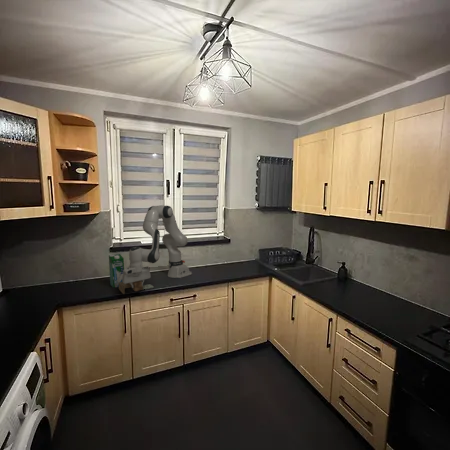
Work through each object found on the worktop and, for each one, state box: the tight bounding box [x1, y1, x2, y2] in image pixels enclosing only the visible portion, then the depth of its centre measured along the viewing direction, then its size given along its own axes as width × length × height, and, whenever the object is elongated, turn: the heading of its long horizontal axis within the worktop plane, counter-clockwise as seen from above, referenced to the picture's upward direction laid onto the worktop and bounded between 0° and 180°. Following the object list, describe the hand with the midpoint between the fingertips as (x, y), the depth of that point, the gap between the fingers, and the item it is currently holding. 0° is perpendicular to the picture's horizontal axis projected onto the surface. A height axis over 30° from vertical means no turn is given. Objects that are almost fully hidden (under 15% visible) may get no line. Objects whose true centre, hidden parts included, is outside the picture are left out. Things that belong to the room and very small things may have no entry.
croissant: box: [118, 282, 144, 295], centre depth 201 cm, size 15×12×6 cm
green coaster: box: [143, 283, 155, 290], centre depth 206 cm, size 8×8×1 cm
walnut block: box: [132, 280, 143, 292], centre depth 190 cm, size 5×5×6 cm
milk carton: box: [108, 253, 125, 288], centre depth 210 cm, size 9×9×25 cm
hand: (137, 286), depth 190 cm, fingers closed on walnut block, 5 cm apart
